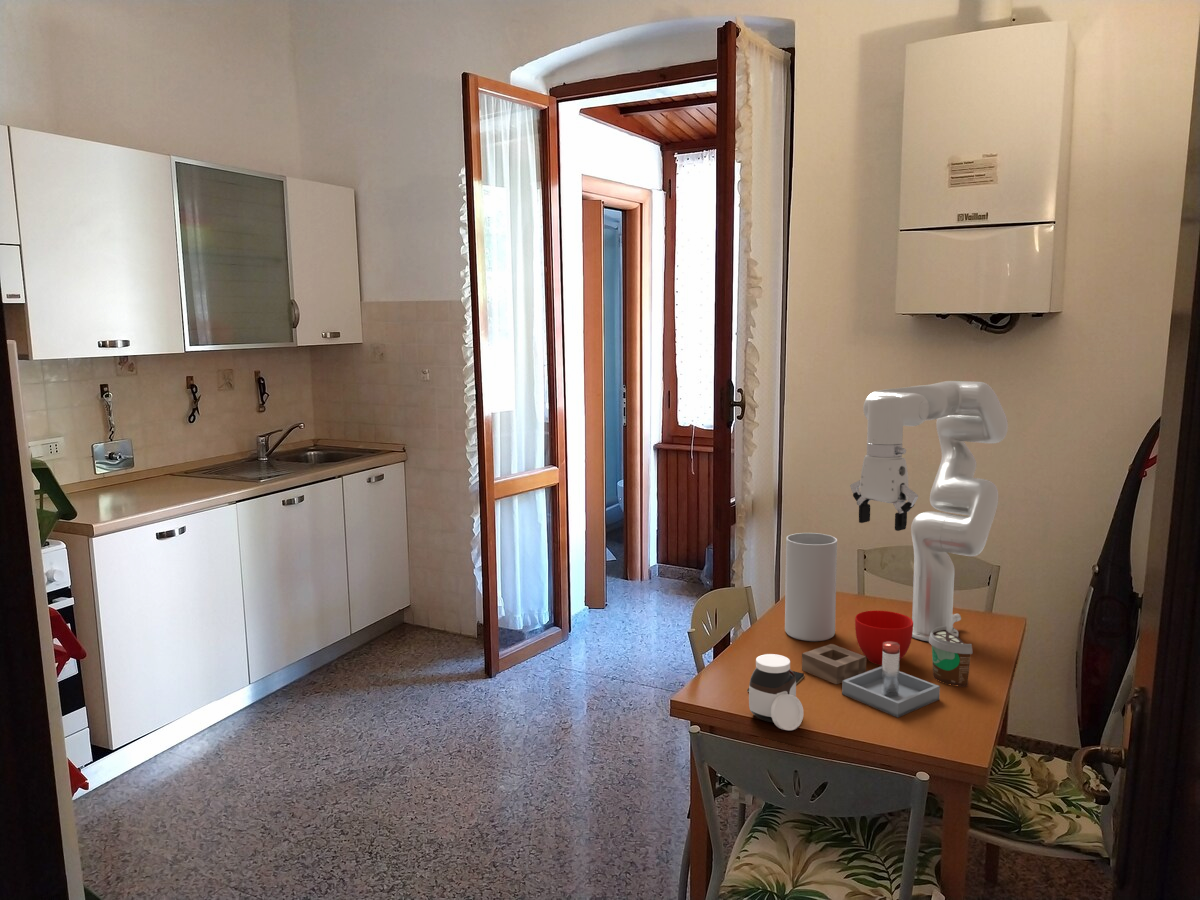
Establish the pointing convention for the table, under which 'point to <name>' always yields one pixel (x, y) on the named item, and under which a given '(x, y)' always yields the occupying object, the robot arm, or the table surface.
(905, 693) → the slate tray
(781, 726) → the jar and lid
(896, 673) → the steel pin
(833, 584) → the cylinder vase
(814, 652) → the walnut socket block
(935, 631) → the food container
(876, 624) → the red bowl
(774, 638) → the table surface
